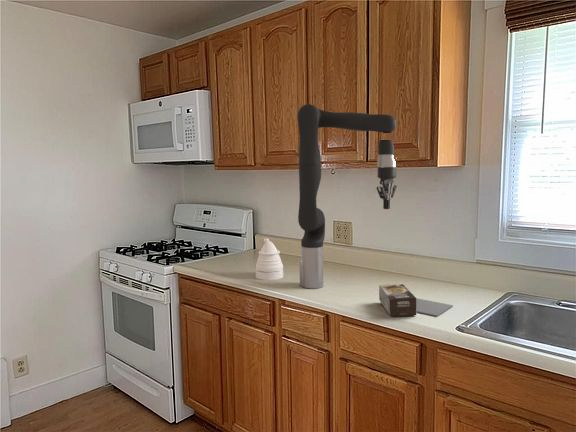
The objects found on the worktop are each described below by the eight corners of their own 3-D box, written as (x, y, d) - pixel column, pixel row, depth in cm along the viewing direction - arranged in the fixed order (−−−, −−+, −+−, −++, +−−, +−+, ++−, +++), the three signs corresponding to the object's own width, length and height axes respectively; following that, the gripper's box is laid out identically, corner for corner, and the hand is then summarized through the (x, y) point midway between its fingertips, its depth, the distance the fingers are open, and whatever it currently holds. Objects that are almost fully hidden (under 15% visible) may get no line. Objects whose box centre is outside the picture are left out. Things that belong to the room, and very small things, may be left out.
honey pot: (273, 281, 198) (272, 241, 195) (250, 277, 204) (249, 239, 202) (288, 275, 208) (288, 237, 206) (266, 271, 215) (265, 235, 213)
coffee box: (402, 282, 164) (417, 297, 148) (402, 299, 165) (417, 315, 149) (378, 284, 164) (390, 299, 148) (378, 300, 165) (390, 317, 149)
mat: (393, 307, 159) (393, 306, 159) (410, 298, 169) (411, 297, 169) (437, 316, 148) (437, 315, 148) (452, 306, 159) (452, 305, 159)
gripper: (386, 166, 186) (386, 207, 188) (370, 166, 176) (370, 209, 178) (403, 165, 181) (402, 208, 183) (387, 166, 171) (387, 210, 173)
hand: (386, 208), depth 180 cm, fingers closed
